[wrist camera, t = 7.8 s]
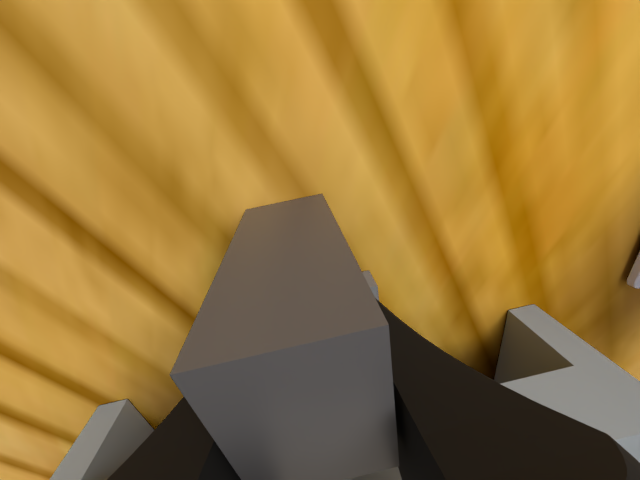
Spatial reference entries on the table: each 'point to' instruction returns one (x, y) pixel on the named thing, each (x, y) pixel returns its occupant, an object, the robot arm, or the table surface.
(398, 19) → the table surface
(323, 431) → the scraper
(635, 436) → the grey bench
